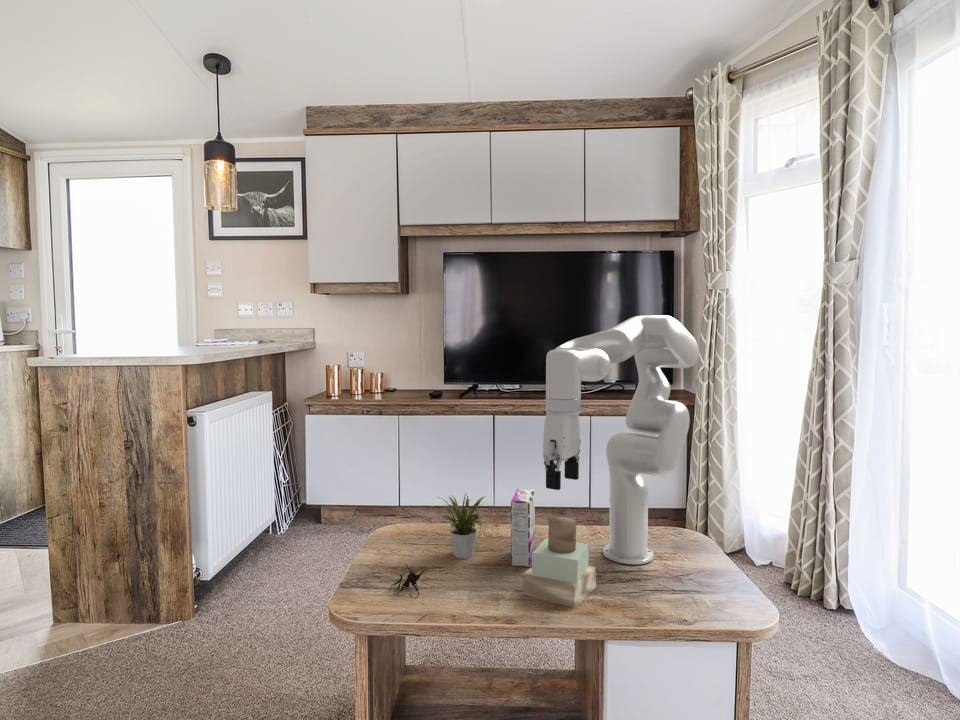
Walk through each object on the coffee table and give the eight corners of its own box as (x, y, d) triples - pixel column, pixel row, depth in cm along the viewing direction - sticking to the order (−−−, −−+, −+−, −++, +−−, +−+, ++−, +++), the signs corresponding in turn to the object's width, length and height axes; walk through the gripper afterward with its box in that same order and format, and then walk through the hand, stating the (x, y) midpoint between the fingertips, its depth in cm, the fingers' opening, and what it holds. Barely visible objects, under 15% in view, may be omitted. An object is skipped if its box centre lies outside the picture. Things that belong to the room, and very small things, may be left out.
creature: (410, 608, 122) (432, 586, 129) (407, 586, 121) (429, 565, 128) (383, 598, 126) (405, 578, 133) (379, 577, 125) (402, 557, 132)
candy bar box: (516, 549, 152) (516, 488, 151) (535, 550, 151) (535, 489, 150) (509, 566, 141) (510, 500, 140) (530, 568, 140) (530, 501, 139)
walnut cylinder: (555, 540, 131) (556, 515, 131) (579, 547, 128) (580, 520, 128) (543, 549, 126) (544, 522, 126) (568, 555, 123) (569, 528, 123)
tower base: (547, 576, 136) (547, 555, 136) (595, 588, 130) (596, 566, 130) (523, 595, 126) (523, 573, 126) (574, 609, 120) (574, 586, 120)
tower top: (546, 558, 134) (546, 537, 134) (588, 565, 130) (588, 544, 130) (532, 575, 125) (532, 552, 125) (577, 583, 121) (577, 560, 121)
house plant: (425, 564, 142) (425, 499, 141) (436, 543, 156) (436, 484, 155) (483, 567, 140) (483, 501, 140) (488, 546, 154) (489, 486, 153)
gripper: (563, 400, 135) (563, 473, 136) (529, 409, 120) (529, 490, 121) (594, 403, 131) (593, 477, 132) (562, 412, 116) (562, 495, 117)
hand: (562, 483), depth 126 cm, fingers open, 9 cm apart
